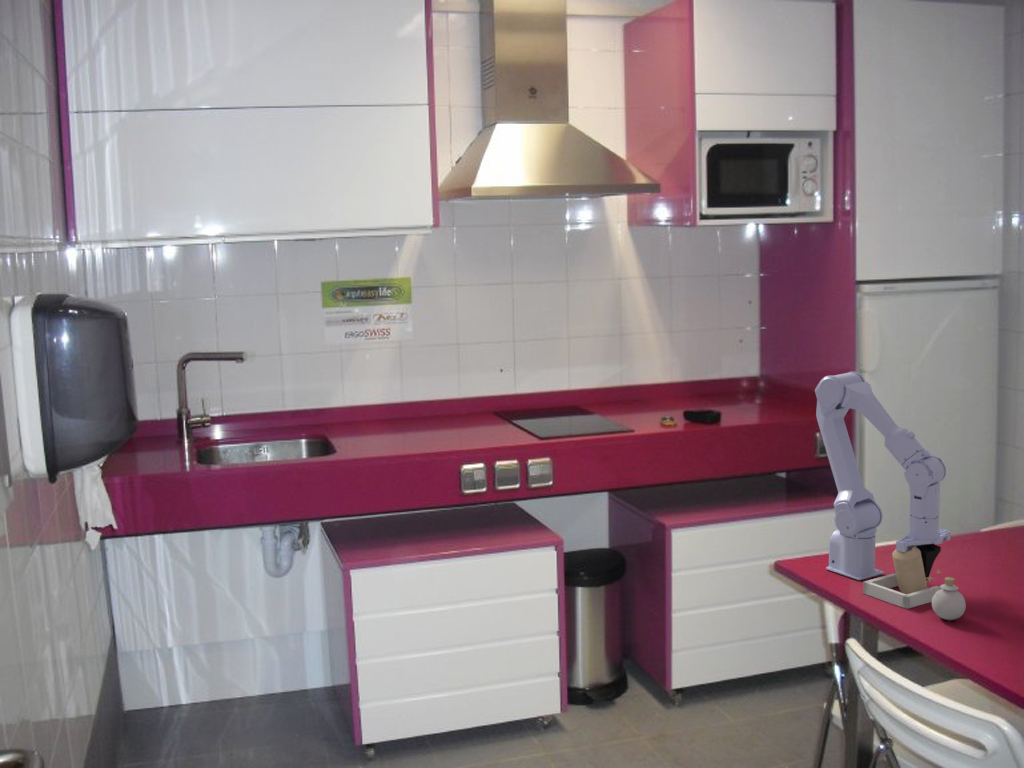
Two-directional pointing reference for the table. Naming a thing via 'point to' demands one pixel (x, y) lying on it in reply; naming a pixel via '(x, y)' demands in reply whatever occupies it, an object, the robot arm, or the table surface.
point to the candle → (909, 570)
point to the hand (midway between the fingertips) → (922, 578)
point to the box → (882, 592)
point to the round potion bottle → (948, 600)
